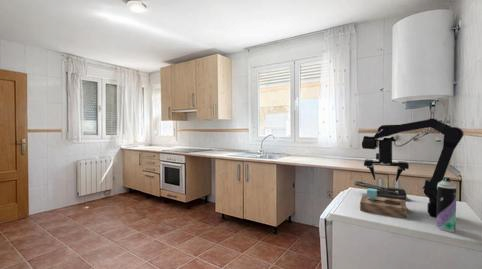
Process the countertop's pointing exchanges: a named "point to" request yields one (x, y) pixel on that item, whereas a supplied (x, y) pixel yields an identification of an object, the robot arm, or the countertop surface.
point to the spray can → (446, 205)
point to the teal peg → (372, 193)
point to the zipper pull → (385, 191)
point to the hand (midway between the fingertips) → (385, 180)
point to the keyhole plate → (384, 206)
